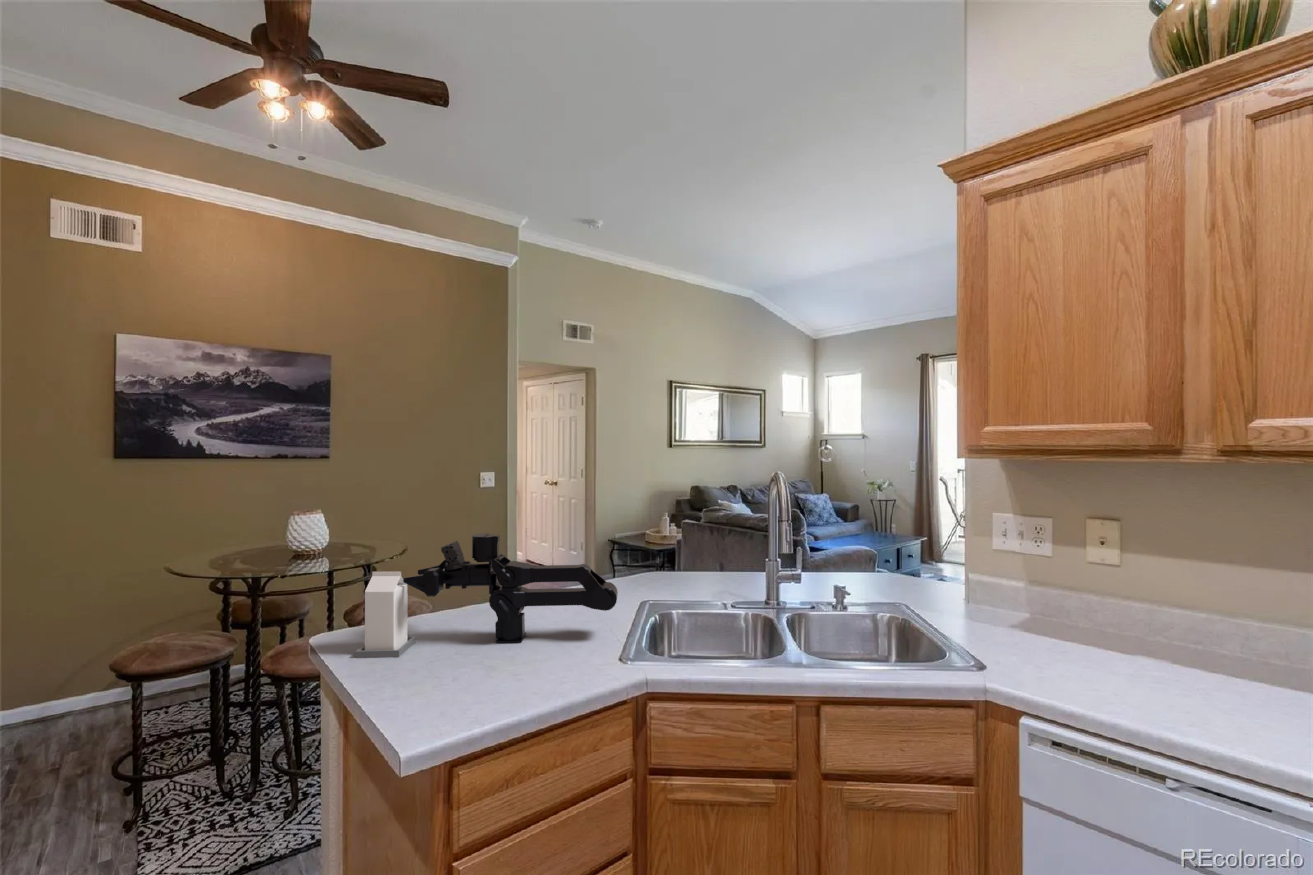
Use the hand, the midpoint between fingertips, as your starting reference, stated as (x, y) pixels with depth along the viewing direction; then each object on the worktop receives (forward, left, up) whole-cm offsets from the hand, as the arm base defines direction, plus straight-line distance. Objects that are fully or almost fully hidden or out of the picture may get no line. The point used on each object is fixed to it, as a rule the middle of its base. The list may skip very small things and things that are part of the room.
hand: (410, 576), depth 148 cm
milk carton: (+4, +6, -17) cm, 18 cm away
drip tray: (+4, +6, -17) cm, 18 cm away
